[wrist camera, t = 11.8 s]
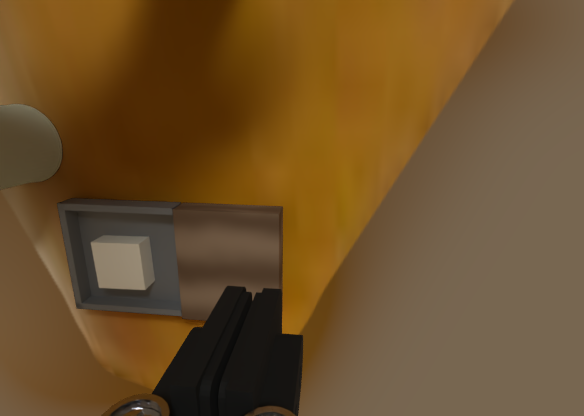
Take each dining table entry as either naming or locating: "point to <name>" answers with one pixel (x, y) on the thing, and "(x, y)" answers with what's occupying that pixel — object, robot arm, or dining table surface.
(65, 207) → the box
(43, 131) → the can
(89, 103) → the dining table surface
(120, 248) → the tile
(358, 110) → the dining table surface
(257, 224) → the brown sliding lid
